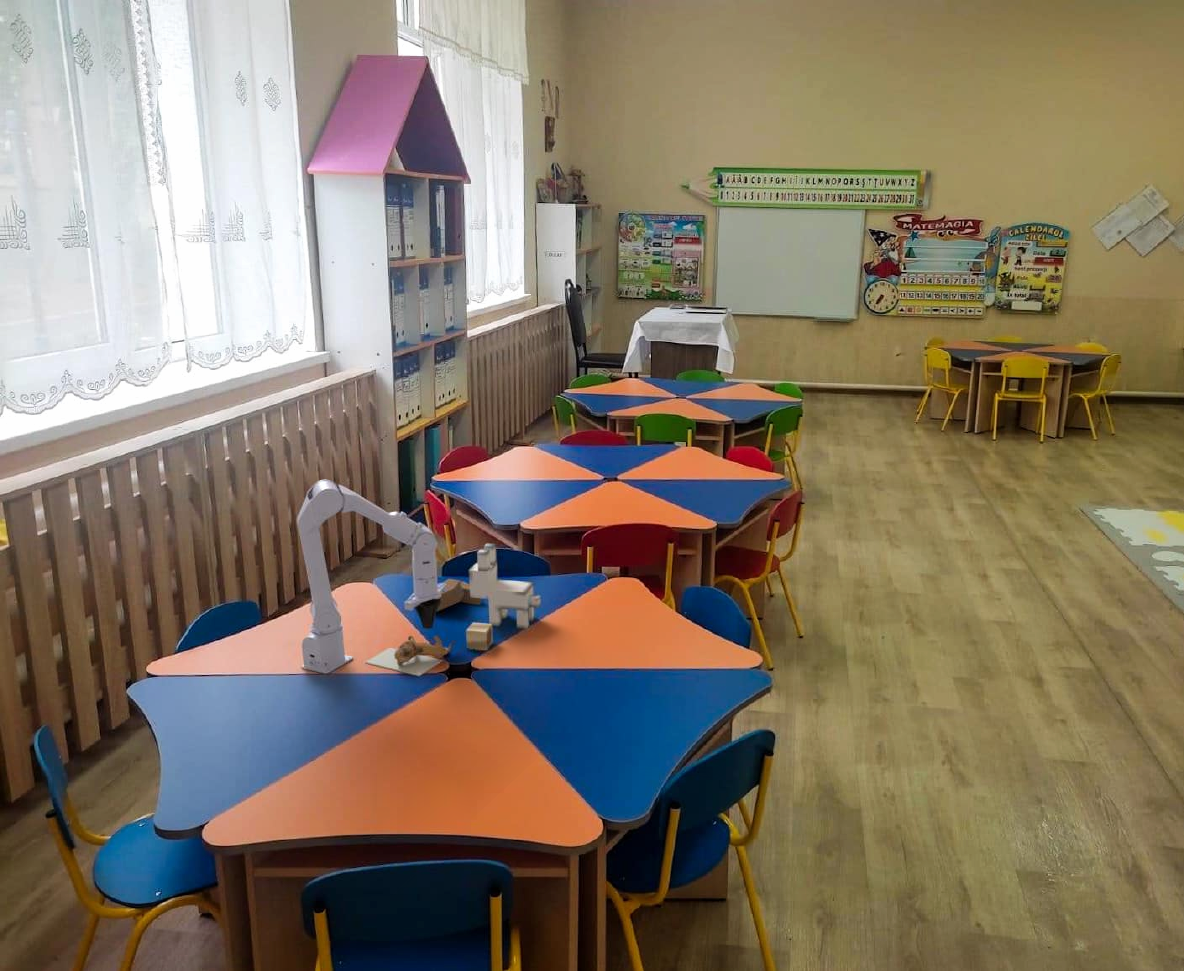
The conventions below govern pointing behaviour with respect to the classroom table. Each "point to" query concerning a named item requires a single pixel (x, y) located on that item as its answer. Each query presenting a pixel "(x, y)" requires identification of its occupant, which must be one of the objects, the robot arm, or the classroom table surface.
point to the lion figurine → (419, 650)
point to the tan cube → (479, 636)
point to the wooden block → (456, 594)
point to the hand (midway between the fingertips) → (427, 627)
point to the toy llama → (501, 590)
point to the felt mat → (414, 666)
